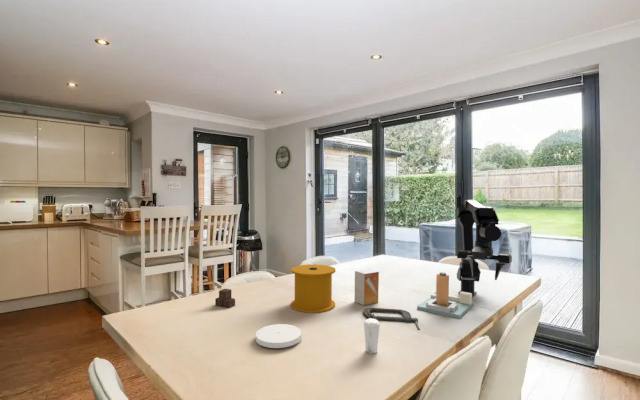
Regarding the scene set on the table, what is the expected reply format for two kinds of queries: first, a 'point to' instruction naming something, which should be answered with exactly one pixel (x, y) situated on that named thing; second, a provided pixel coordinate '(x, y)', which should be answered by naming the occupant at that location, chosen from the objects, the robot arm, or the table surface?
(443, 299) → the jaw post
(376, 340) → the milkshake
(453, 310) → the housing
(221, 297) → the stack of crates
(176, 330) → the table surface
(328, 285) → the spool
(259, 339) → the plastic lid
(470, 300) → the cream block
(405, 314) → the c clamp
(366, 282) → the small box
